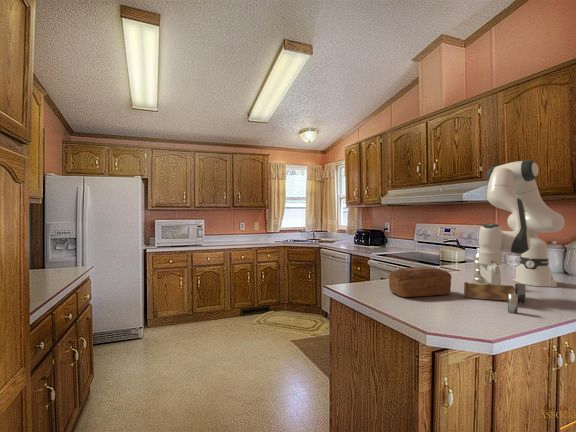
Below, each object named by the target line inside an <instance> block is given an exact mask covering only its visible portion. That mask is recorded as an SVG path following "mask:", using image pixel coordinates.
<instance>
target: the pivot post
mask: <svg viewBox="0 0 576 432" xmlns="http://www.w3.org/2000/svg"><path fill="white" fill-rule="evenodd" d="M514 294H517V295H518V303H519V304H526V284H521V283H518V282H516V283H515V284H514Z"/></svg>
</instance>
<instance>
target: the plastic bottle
mask: <svg viewBox="0 0 576 432" xmlns="http://www.w3.org/2000/svg"><path fill="white" fill-rule="evenodd" d="M479 249H480V247H476V250H475V252H476V253H475V254H474V255H473V264H474V265H473V268H474V272H473V278H472V283H478V284H486V280H485V279H484V278H483V277H482V276H481V274H480V265H479V261H478V256H479Z"/></svg>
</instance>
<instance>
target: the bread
mask: <svg viewBox="0 0 576 432" xmlns="http://www.w3.org/2000/svg"><path fill="white" fill-rule="evenodd" d="M388 287H389V291H390V292H391V293H392V294H394V295H396V296H397V297H398V296H399V297H402V298H414V297H430V296H442V295H443V296H445V295H449V294H450V293H451V287H452V275H451V273H450V272H448V271H447V270H444V269H440V268H437V267H428V266H423V267H422V266H415V267H413V266H412V267H406V268H405V267H404V268H398V269H396V270H393V271H392V272H391V273H390V274H389V275H388Z"/></svg>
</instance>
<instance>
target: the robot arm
mask: <svg viewBox="0 0 576 432" xmlns="http://www.w3.org/2000/svg"><path fill="white" fill-rule="evenodd" d="M539 169H540V168H539V166H538V164H537V162H536V161H534V160H533V159H524V160H519V161H518V160H517V161H513V162H512V161H511V162H509V163H503V164H502V165H498V166H497V165H495V166H493V167H492V166H491V167H490V168H489V169H488V170H487V172H486V177H485V178H486V181H487V183H488V185H487V190H486V198H487V199H486V200H487V201H488V202H489V204H491V205H492V206H494V207H495V208H498V209H501V210H503V211H508V212H509V213H511V214H510V215H508V217H507V220H506V221H507V226H508V227H509V229H511V230H502V226H501V225H500V224H498V223H484V224H481V225H480V227H479V232H478V246H479V248H480V249H479V256H478V261H479V265H480V274H481V276H482V277H483V278H484V279H485V280H486V284H491V285H501V283H502V282H501V281H502V279H501V278H502V277H501V268H500V267H499V266H502V265H503V253H504V252H505V253H512V254H519V255H520V257H519V265H517V266H516V272H515V278H512V281H514V282H516V283H518V284H525V286H527V285H528V286H535V287H545V288H546V287H549V288H550V287H551V288H557V286H558V281H557V280H555V279H554V277H553V275H552V274H553V273H552V270H551V268H550V266H549V264H550V263H549V258H548V244H547V243H546V241H545V240H542V239H541V238H540V237H538V235H537V233H546V234H547V233H550V234H551V233H556V232H560V231H562V229H563V228H564V227H565V223H566V222H565V218H564V216H563V215H562V214H561V213H559V212H556V211H554V210H553V209H551V208H550V206H549V205H547V204H546V203H545V202H544V200H543V199H542V197H541V194H540V191H539V188H538V184H537V182H536V180H535V179H536V178H537V177H538V176H539Z"/></svg>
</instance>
